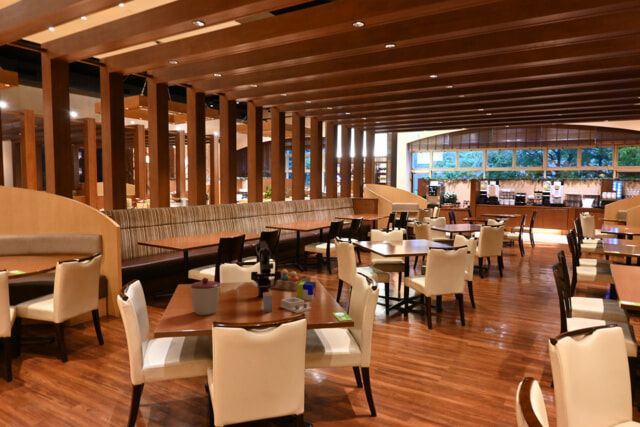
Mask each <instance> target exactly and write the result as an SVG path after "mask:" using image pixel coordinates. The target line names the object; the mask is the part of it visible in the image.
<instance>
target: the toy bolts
mask: <svg viewBox="0 0 640 427" xmlns="http://www.w3.org/2000/svg"><path fill="white" fill-rule="evenodd" d="M288 272H289V271H288V270H287V269H286V268H284V269H282V270H281V280H282V281H287V280H289V281H293V282H294V281H298V280H299V277H298V276H297V275H298V274H297V272H296V271H291V272H290V275H291V276H288V275H287V274H288Z"/></svg>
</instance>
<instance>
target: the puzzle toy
mask: <svg viewBox="0 0 640 427" xmlns="http://www.w3.org/2000/svg"><path fill="white" fill-rule="evenodd" d="M316 286H317V284H316V281H311V282H306V281H301V282H300V283H299V284H298V290H297V298H298V299H301V300H304V301H307V300H309V301H313V300H314V299H315V298H316V294H317V292H316V290H317V289H316V288H317V287H316Z"/></svg>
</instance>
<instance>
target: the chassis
mask: <svg viewBox="0 0 640 427" xmlns="http://www.w3.org/2000/svg"><path fill="white" fill-rule="evenodd" d="M280 308H283V309H286V310H288V311H290V312H293V313H296V314H297V313H302V312H307V311H311V310H312V307H311V306H308V303H305V300H304V299H298V297H295V296H294V297H287V298H282V299H281V300H280Z"/></svg>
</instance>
